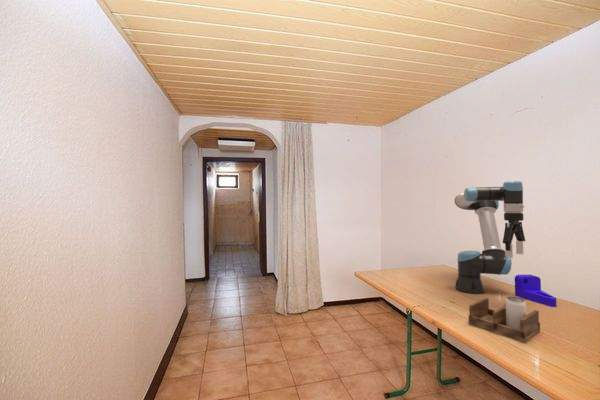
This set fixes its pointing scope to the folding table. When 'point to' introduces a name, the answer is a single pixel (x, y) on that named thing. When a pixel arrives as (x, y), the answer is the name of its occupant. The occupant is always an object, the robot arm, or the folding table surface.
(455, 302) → the folding table surface
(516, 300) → the can
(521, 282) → the bracket
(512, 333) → the rack
